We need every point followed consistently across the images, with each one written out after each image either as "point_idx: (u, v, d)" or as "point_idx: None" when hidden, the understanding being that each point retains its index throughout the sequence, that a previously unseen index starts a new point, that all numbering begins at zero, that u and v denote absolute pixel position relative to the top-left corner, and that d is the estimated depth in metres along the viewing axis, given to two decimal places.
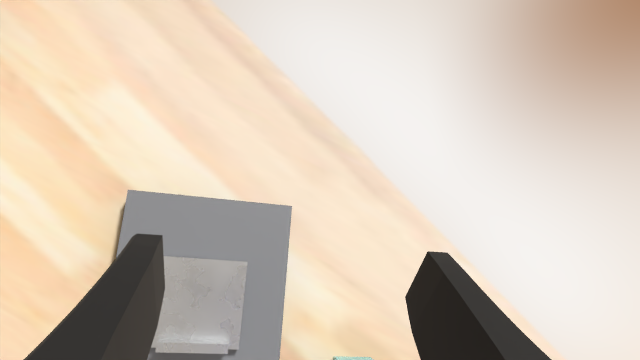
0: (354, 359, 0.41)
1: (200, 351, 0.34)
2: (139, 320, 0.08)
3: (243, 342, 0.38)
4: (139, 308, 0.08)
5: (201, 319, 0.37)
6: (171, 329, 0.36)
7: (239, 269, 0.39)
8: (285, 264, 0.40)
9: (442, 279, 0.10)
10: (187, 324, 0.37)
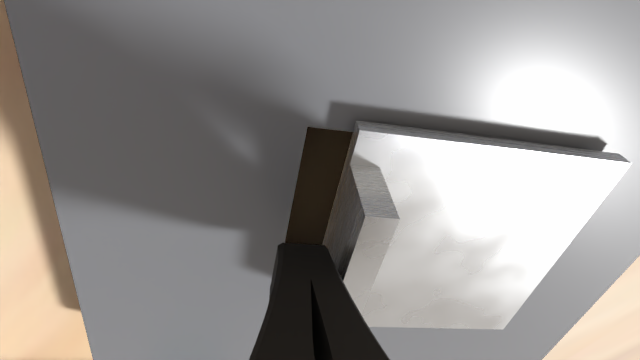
0: None
1: None
2: None
3: None
4: None
5: (402, 258, 0.13)
6: (397, 194, 0.11)
7: (493, 318, 0.15)
8: None
9: None
10: (399, 230, 0.12)
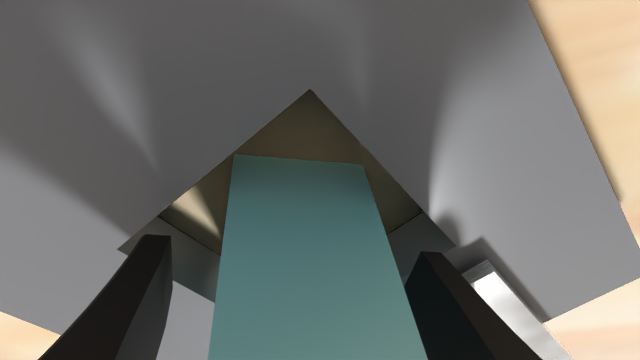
0: None
1: None
2: (149, 320, 0.09)
3: (96, 265, 0.11)
4: (149, 308, 0.08)
5: None
6: None
7: None
8: None
9: (435, 279, 0.10)
10: None
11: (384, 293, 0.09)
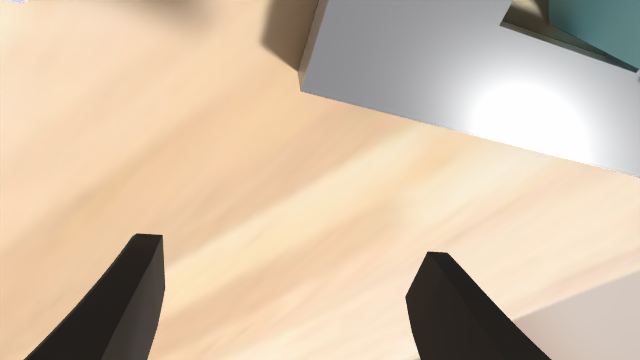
0: None
1: None
2: (139, 320, 0.08)
3: (485, 49, 0.16)
4: (139, 308, 0.08)
5: None
6: None
7: None
8: (578, 158, 0.19)
9: (442, 279, 0.10)
10: None
11: None
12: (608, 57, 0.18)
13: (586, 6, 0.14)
